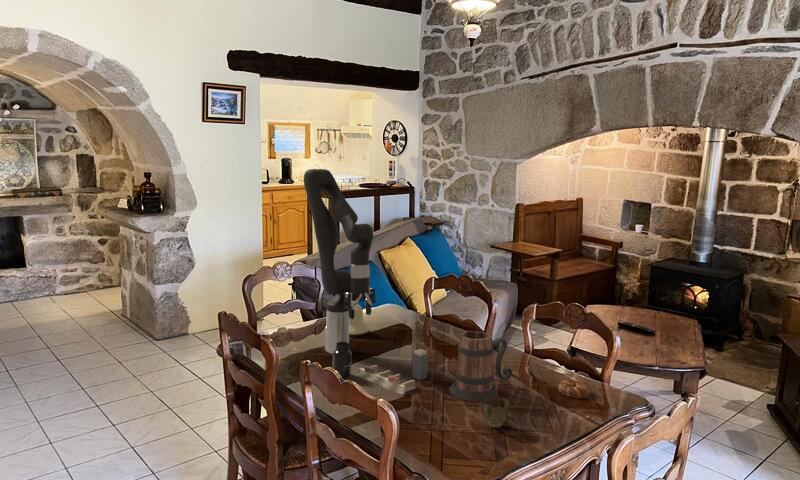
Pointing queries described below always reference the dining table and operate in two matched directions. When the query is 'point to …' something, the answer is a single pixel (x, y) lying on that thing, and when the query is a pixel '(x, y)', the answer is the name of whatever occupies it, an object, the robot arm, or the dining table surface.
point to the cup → (496, 411)
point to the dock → (386, 379)
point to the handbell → (357, 322)
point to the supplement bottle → (342, 359)
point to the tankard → (478, 366)
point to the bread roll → (574, 388)
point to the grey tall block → (420, 364)
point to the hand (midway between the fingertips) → (360, 316)
